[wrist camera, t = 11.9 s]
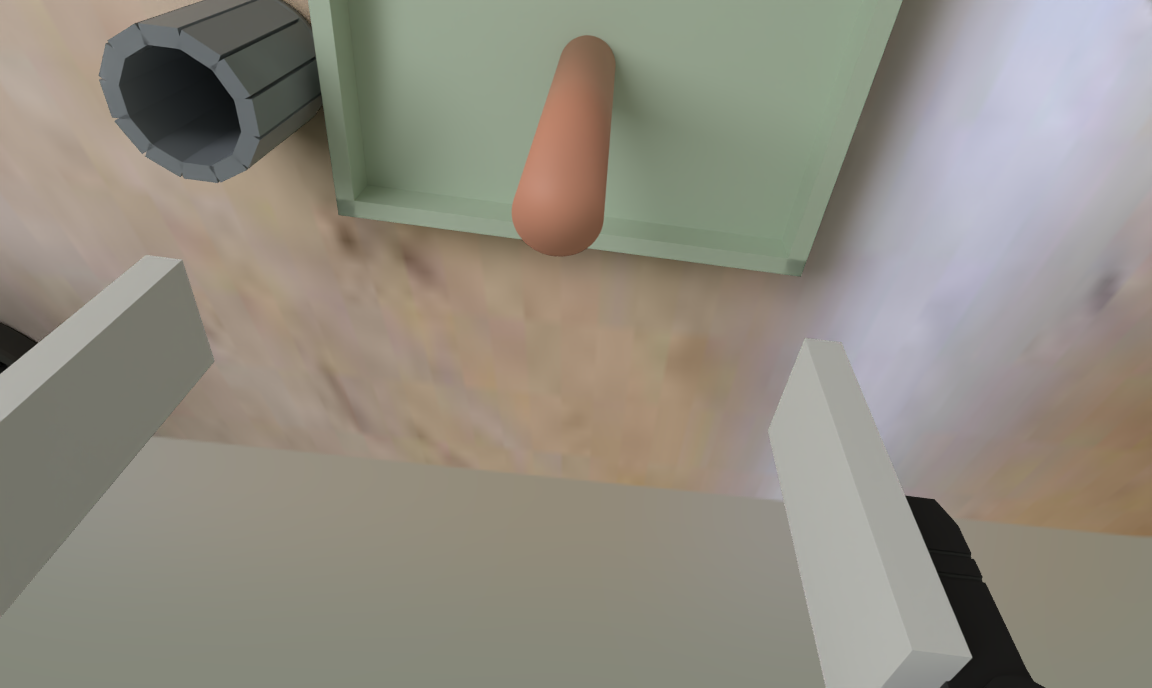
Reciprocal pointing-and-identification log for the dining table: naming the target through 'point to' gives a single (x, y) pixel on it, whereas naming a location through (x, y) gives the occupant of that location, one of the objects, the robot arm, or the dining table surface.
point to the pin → (569, 154)
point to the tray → (639, 114)
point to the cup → (212, 84)
